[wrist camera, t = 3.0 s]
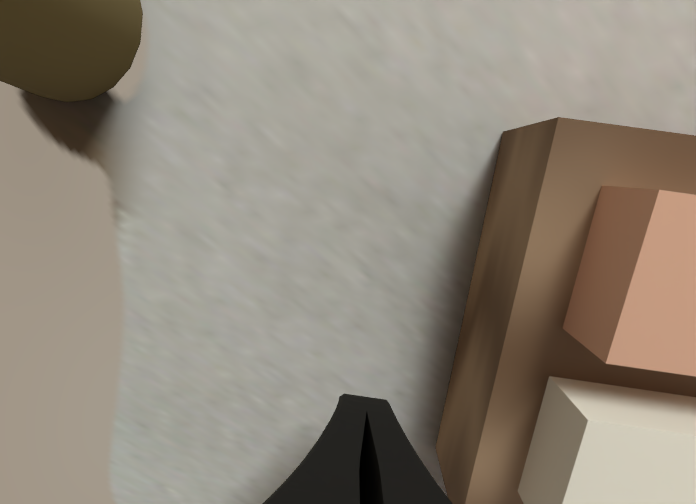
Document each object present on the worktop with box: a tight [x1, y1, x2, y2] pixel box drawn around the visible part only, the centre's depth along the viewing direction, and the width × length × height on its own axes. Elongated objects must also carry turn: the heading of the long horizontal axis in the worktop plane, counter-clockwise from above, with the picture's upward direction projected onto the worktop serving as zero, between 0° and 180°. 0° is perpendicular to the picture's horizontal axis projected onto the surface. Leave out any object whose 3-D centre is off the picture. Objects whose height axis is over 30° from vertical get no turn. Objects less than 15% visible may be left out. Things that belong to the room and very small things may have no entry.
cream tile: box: [518, 376, 696, 504], centre depth 11 cm, size 4×5×2 cm
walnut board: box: [436, 117, 696, 504], centre depth 13 cm, size 13×10×4 cm
